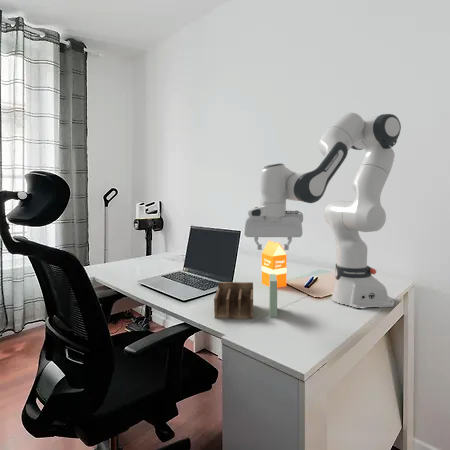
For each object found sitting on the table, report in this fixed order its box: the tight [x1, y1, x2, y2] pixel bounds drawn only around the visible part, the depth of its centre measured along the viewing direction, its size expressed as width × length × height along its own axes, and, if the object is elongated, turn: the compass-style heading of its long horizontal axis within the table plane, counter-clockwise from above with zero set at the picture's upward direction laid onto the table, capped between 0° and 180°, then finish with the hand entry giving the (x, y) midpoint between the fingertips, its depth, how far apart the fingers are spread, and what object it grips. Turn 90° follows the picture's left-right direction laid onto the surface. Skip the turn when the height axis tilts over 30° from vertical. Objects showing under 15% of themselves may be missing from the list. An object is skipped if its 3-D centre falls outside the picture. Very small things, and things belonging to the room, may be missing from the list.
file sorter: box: [213, 281, 254, 320], centre depth 121 cm, size 13×13×9 cm
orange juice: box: [261, 240, 288, 289], centre depth 151 cm, size 8×9×20 cm
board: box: [268, 274, 278, 318], centre depth 119 cm, size 2×9×13 cm, turn 175°
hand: (272, 249), depth 117 cm, fingers open, 8 cm apart
